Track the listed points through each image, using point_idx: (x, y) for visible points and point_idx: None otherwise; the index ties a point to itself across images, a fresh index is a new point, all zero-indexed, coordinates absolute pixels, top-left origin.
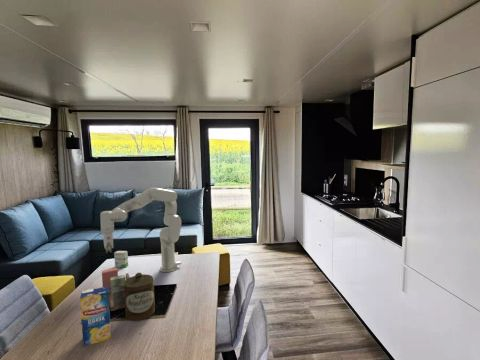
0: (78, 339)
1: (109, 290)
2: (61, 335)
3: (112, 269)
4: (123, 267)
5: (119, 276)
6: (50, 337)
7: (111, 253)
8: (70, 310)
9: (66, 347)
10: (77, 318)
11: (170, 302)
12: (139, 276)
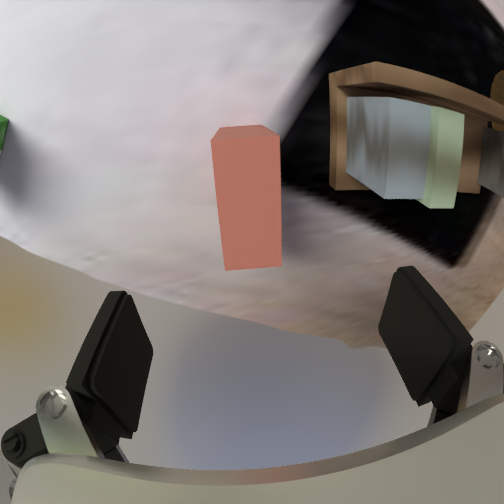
0: (501, 262)
1: (344, 182)
2: (469, 296)
3: (239, 183)
4: (5, 130)
5: (437, 146)
6: (458, 314)
7: (457, 323)
8: (379, 307)
9: (501, 278)
10: (438, 279)
11: (497, 20)
12: None
